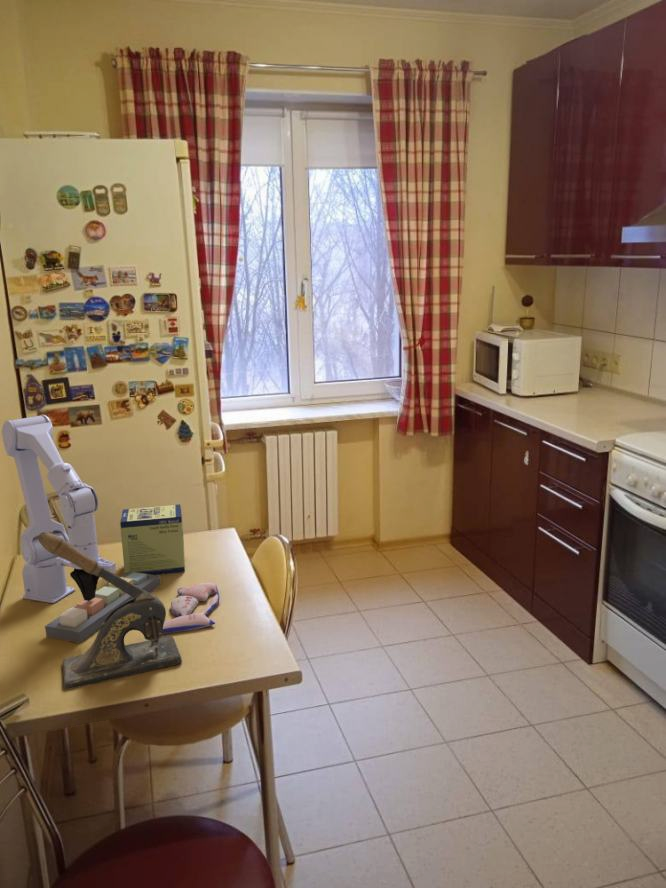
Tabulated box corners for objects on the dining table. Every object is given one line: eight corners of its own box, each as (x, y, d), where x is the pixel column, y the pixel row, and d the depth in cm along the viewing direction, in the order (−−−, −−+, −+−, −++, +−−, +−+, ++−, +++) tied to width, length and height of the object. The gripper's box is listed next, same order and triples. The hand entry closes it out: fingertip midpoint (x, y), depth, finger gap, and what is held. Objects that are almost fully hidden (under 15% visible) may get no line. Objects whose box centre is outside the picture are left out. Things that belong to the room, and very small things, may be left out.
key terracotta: (78, 616, 157) (76, 604, 156) (89, 608, 160) (88, 596, 159) (92, 619, 155) (91, 606, 154) (104, 611, 159) (103, 598, 158)
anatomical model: (156, 638, 150) (226, 628, 154) (155, 626, 150) (225, 616, 154) (154, 597, 169) (216, 589, 173) (153, 586, 169) (215, 578, 173)
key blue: (124, 589, 172) (123, 578, 171) (134, 583, 176) (133, 572, 175) (138, 592, 171) (137, 580, 170) (147, 585, 174) (146, 574, 174)
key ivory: (60, 628, 151) (59, 615, 151) (73, 619, 155) (71, 607, 154) (75, 630, 150) (74, 618, 149) (88, 622, 154) (86, 609, 153)
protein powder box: (186, 572, 183) (181, 515, 179) (124, 579, 179) (118, 521, 176) (185, 557, 193) (180, 503, 189) (126, 563, 189) (121, 509, 186)
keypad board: (46, 636, 151) (44, 626, 150) (130, 580, 178) (129, 571, 178) (80, 643, 148) (79, 632, 147) (160, 584, 175) (159, 575, 175)
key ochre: (109, 595, 167) (108, 583, 166) (120, 588, 170) (119, 576, 170) (123, 597, 165) (122, 585, 165) (134, 590, 169) (132, 578, 168)
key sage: (94, 605, 162) (93, 593, 161) (105, 598, 165) (104, 586, 165) (108, 607, 160) (107, 595, 160) (119, 600, 164) (118, 588, 163)
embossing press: (183, 667, 138) (171, 524, 131) (55, 692, 131) (35, 541, 124) (176, 641, 148) (165, 506, 141) (57, 662, 141) (39, 522, 134)
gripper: (122, 538, 155) (127, 595, 158) (69, 532, 160) (75, 587, 163) (101, 550, 148) (107, 609, 152) (47, 543, 153) (54, 600, 156)
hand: (89, 598), depth 157 cm, fingers closed
